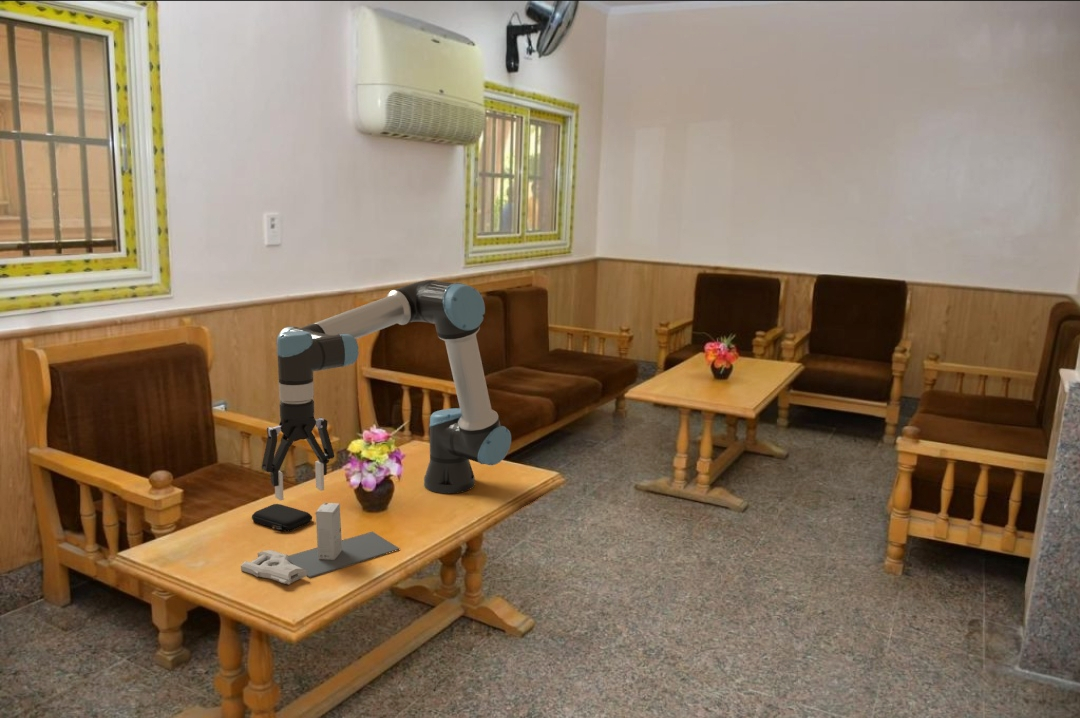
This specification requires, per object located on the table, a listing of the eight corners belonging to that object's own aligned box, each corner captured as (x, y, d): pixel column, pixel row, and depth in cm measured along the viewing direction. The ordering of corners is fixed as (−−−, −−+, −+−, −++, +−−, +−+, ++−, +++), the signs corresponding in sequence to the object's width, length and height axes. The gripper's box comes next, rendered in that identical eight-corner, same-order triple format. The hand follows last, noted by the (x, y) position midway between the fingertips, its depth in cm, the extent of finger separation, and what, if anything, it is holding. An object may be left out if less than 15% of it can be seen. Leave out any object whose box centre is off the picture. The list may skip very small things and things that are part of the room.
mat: (372, 532, 216) (372, 531, 216) (399, 549, 207) (399, 548, 207) (284, 558, 200) (284, 556, 200) (309, 578, 191) (309, 576, 191)
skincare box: (335, 560, 199) (333, 512, 197) (316, 559, 199) (315, 511, 197) (342, 549, 205) (341, 502, 203) (324, 548, 205) (323, 502, 203)
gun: (318, 559, 193) (284, 576, 184) (320, 573, 193) (286, 591, 185) (265, 544, 202) (231, 560, 194) (267, 558, 203) (232, 573, 195)
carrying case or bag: (245, 524, 221) (285, 536, 213) (244, 513, 220) (284, 525, 213) (276, 511, 230) (315, 522, 223) (275, 500, 229) (315, 512, 222)
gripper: (333, 389, 199) (335, 479, 204) (242, 403, 185) (247, 499, 190) (348, 396, 194) (350, 487, 199) (256, 411, 180) (260, 509, 184)
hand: (300, 493), depth 194 cm, fingers open, 9 cm apart
